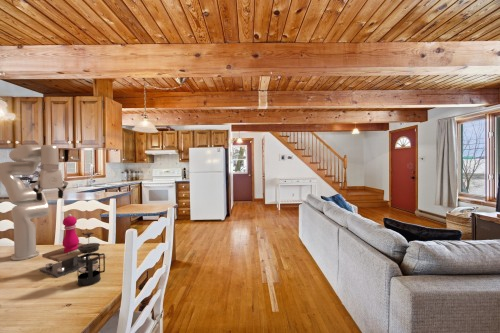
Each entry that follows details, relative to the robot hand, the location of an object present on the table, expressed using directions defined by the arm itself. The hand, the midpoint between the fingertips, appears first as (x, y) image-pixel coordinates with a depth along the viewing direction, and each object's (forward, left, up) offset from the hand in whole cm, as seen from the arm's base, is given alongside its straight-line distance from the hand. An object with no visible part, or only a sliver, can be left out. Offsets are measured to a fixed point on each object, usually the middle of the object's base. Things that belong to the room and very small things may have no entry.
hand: (50, 199), depth 133 cm
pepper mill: (+13, +3, -28) cm, 31 cm away
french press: (+38, -2, -36) cm, 53 cm away
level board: (+12, +3, -29) cm, 32 cm away
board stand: (+12, +3, -36) cm, 38 cm away
